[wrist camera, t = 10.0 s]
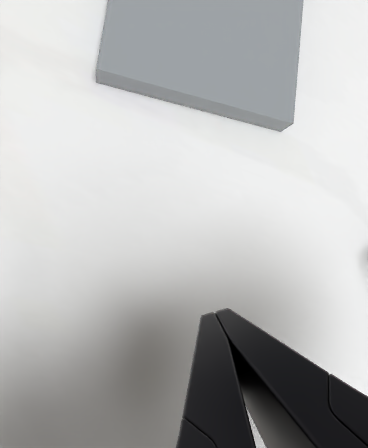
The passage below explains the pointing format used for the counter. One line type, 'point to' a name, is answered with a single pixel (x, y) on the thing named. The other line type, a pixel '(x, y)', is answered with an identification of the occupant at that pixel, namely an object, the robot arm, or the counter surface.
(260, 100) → the tile
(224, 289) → the counter surface
